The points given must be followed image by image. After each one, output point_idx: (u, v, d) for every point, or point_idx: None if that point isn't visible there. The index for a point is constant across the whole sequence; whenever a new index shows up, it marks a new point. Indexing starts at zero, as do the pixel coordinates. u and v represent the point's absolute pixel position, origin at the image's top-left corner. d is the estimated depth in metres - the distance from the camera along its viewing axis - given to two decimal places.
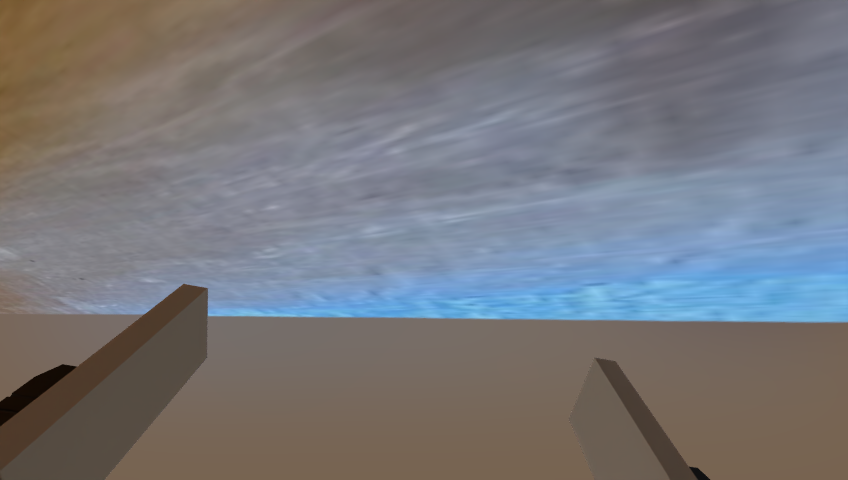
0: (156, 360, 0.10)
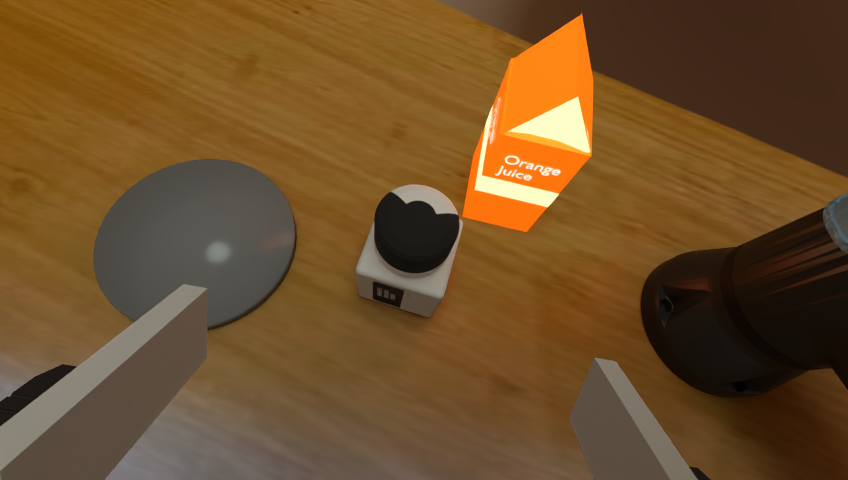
0: (156, 360, 0.10)
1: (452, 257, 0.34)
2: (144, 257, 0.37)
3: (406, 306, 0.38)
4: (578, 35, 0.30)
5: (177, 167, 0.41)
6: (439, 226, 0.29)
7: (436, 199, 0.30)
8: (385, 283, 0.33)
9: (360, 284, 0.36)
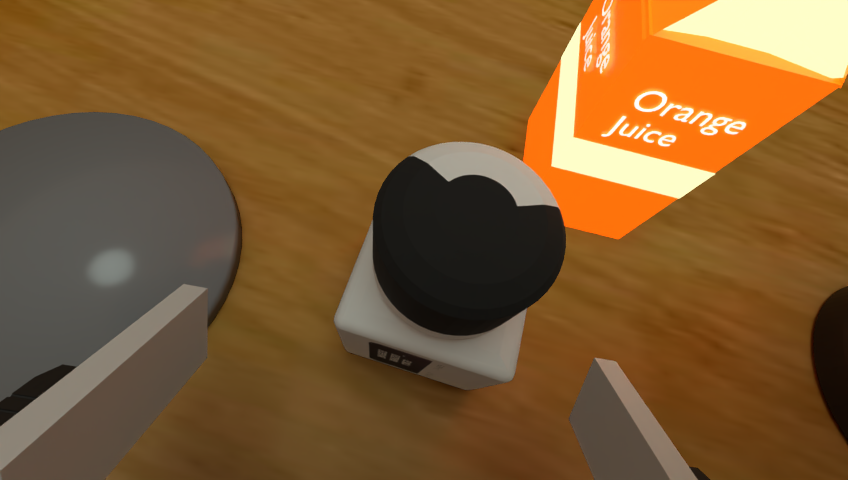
0: (156, 360, 0.10)
1: None
2: None
3: (429, 374, 0.21)
4: None
5: (40, 124, 0.24)
6: (526, 236, 0.12)
7: (514, 173, 0.13)
8: (394, 348, 0.16)
9: (345, 340, 0.19)
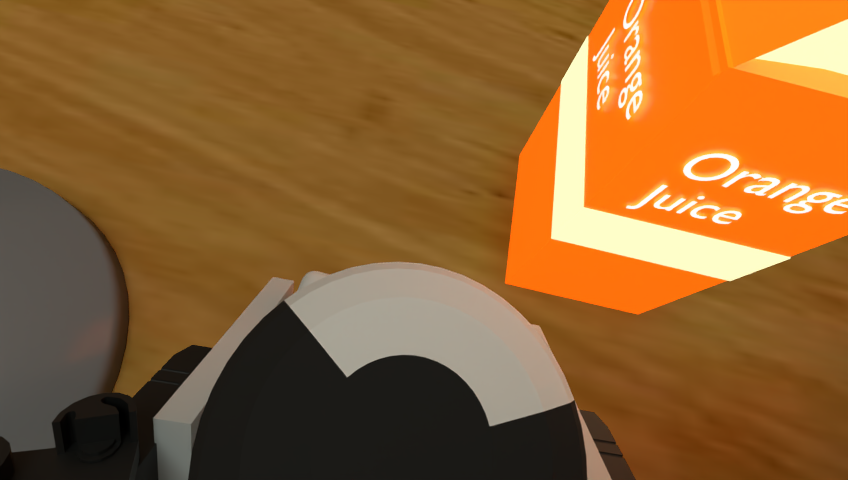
0: None
1: None
2: None
3: None
4: None
5: None
6: None
7: (483, 341, 0.07)
8: None
9: None
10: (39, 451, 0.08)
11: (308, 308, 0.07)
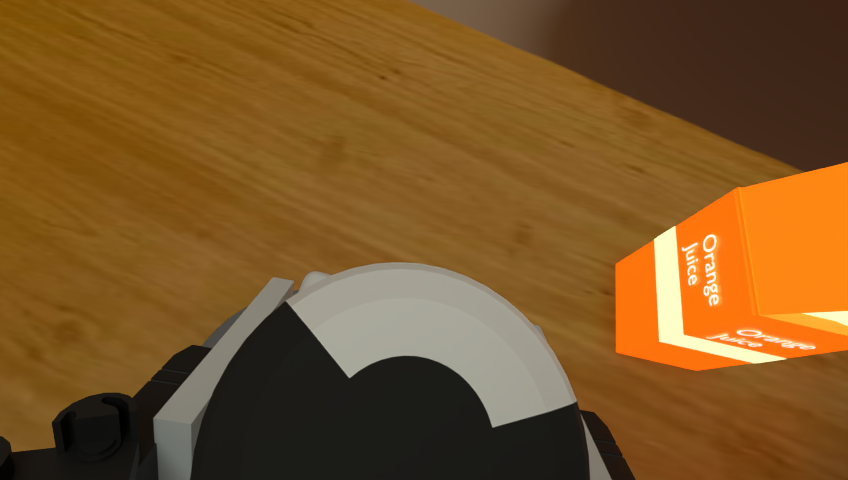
0: None
1: None
2: None
3: None
4: None
5: None
6: None
7: (486, 342, 0.07)
8: None
9: None
10: (39, 451, 0.08)
11: (310, 309, 0.07)
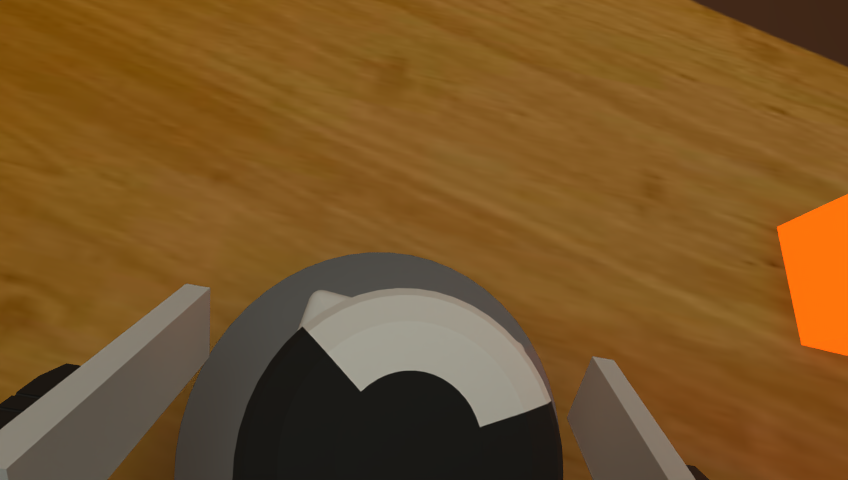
0: (159, 359, 0.11)
1: None
2: None
3: None
4: None
5: (317, 271, 0.22)
6: None
7: (472, 355, 0.08)
8: None
9: None
10: None
11: (324, 333, 0.08)
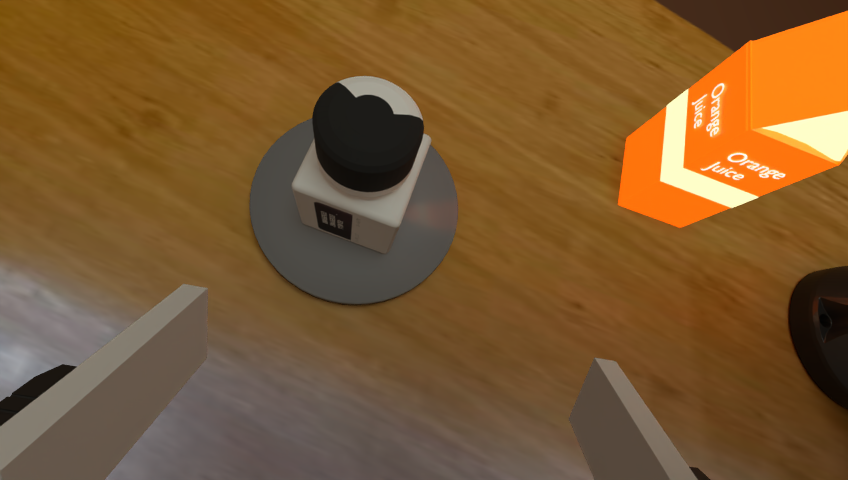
0: (156, 360, 0.10)
1: (414, 179, 0.28)
2: None
3: (357, 238, 0.32)
4: None
5: None
6: (396, 130, 0.23)
7: (395, 96, 0.23)
8: (329, 205, 0.27)
9: (300, 206, 0.29)
10: None
11: (344, 82, 0.23)
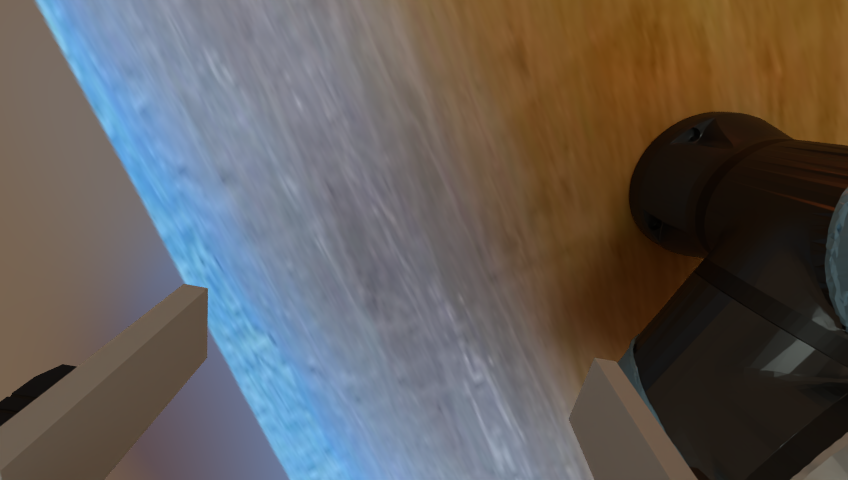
0: (156, 360, 0.10)
1: None
2: None
3: None
4: None
5: None
6: None
7: None
8: None
9: None
10: None
11: None
